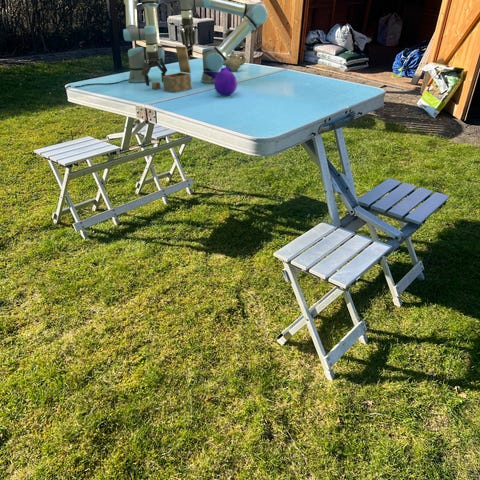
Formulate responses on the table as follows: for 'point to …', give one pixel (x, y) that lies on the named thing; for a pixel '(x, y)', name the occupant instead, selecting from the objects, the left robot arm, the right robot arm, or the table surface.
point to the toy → (224, 81)
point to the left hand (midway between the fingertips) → (155, 84)
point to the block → (156, 85)
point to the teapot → (234, 61)
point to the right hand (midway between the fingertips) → (189, 55)
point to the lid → (183, 59)
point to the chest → (177, 82)
